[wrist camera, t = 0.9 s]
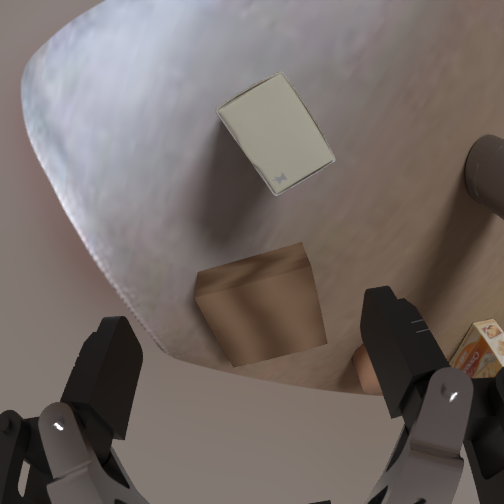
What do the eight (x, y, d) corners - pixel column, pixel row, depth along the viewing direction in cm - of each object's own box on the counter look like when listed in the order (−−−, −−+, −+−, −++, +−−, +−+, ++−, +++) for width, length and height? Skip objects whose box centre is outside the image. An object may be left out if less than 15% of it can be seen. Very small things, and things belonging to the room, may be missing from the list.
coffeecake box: (472, 322, 44) (522, 400, 27) (494, 317, 44) (542, 388, 27) (441, 373, 51) (475, 445, 35) (463, 366, 52) (498, 433, 35)
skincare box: (299, 132, 27) (341, 165, 16) (260, 155, 28) (277, 203, 17) (262, 75, 24) (283, 67, 13) (221, 101, 25) (212, 110, 14)
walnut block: (300, 240, 33) (310, 265, 29) (318, 316, 39) (327, 343, 35) (198, 270, 35) (194, 298, 30) (232, 338, 41) (233, 367, 36)
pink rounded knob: (392, 331, 42) (406, 360, 37) (391, 357, 46) (403, 384, 41) (350, 346, 43) (361, 377, 38) (353, 370, 46) (363, 399, 41)
